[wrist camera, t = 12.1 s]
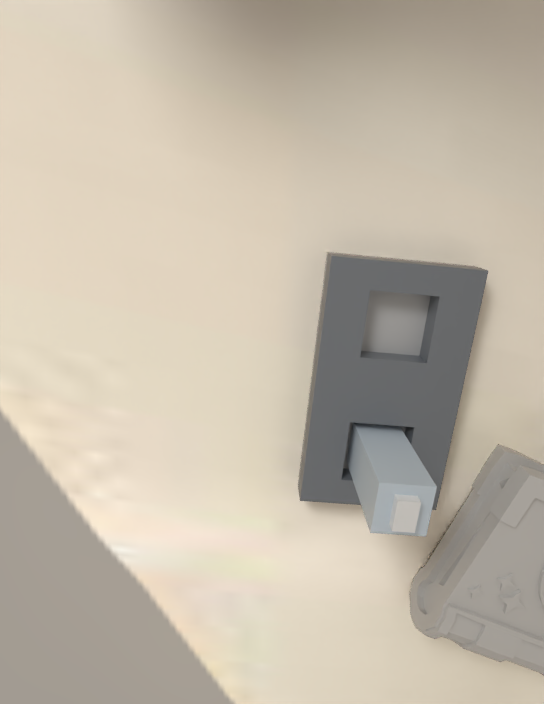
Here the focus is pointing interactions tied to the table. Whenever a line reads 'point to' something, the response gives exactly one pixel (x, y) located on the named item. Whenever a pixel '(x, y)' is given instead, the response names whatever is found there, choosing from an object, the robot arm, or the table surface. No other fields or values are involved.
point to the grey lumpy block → (490, 567)
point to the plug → (390, 480)
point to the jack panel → (387, 363)
